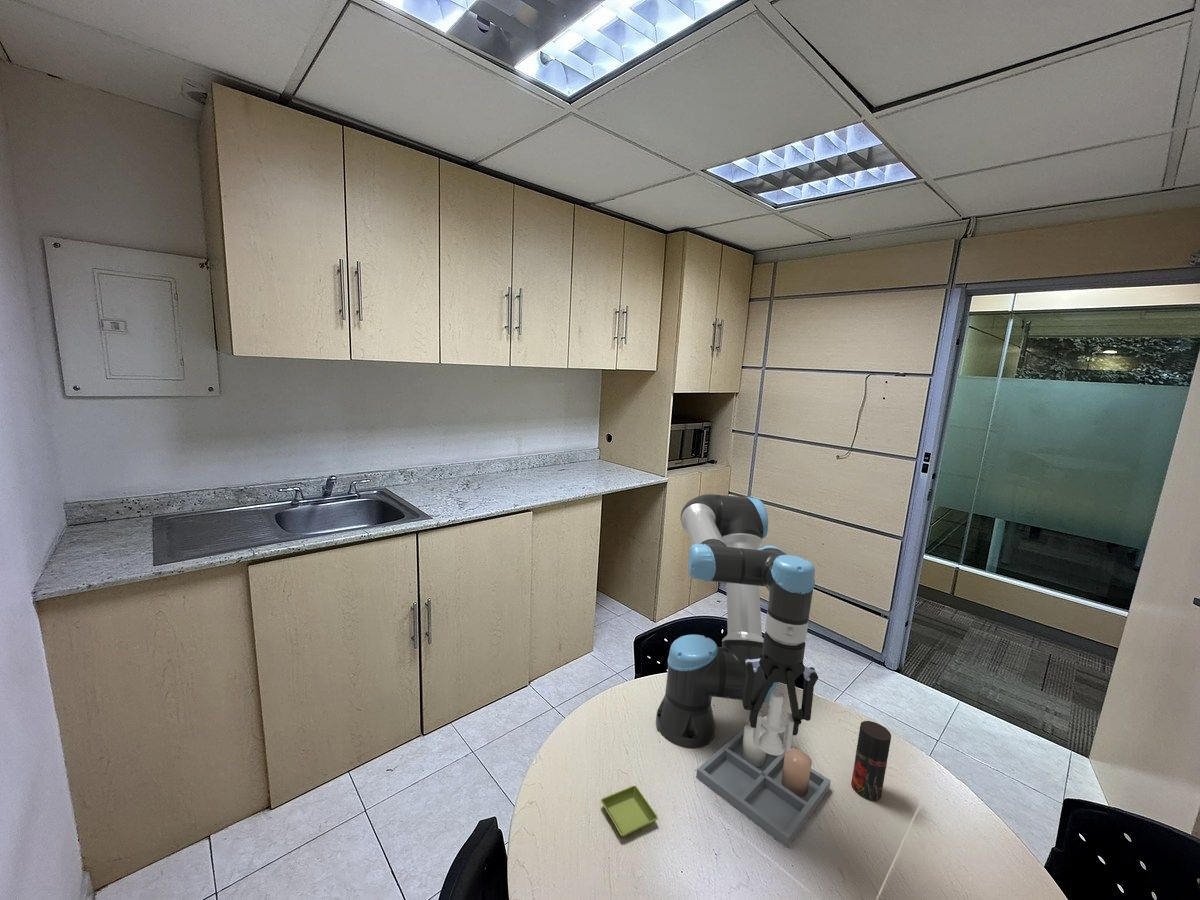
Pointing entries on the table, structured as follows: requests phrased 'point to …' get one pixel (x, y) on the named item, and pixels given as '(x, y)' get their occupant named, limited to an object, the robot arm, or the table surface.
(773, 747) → the white peg
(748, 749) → the glossy white egg
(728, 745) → the holder tray
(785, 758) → the glossy peach egg
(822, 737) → the table surface
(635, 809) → the green square dish
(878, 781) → the deodorant
